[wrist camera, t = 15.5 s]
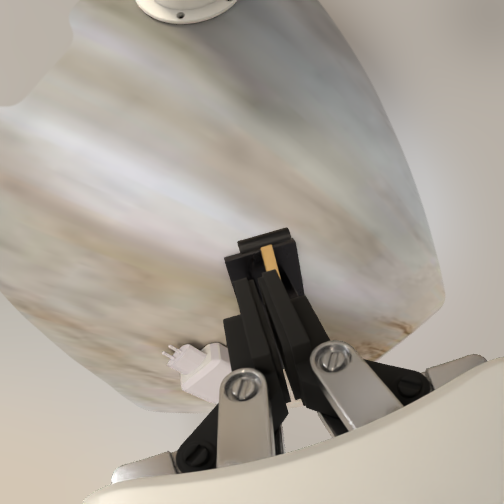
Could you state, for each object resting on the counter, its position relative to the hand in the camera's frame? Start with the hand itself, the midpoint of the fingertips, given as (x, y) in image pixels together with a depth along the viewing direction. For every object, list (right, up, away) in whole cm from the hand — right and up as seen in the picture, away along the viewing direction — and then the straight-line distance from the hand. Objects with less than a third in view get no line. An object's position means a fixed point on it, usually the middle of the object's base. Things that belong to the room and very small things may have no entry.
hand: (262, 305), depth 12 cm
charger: (-8, -15, +33) cm, 37 cm away
